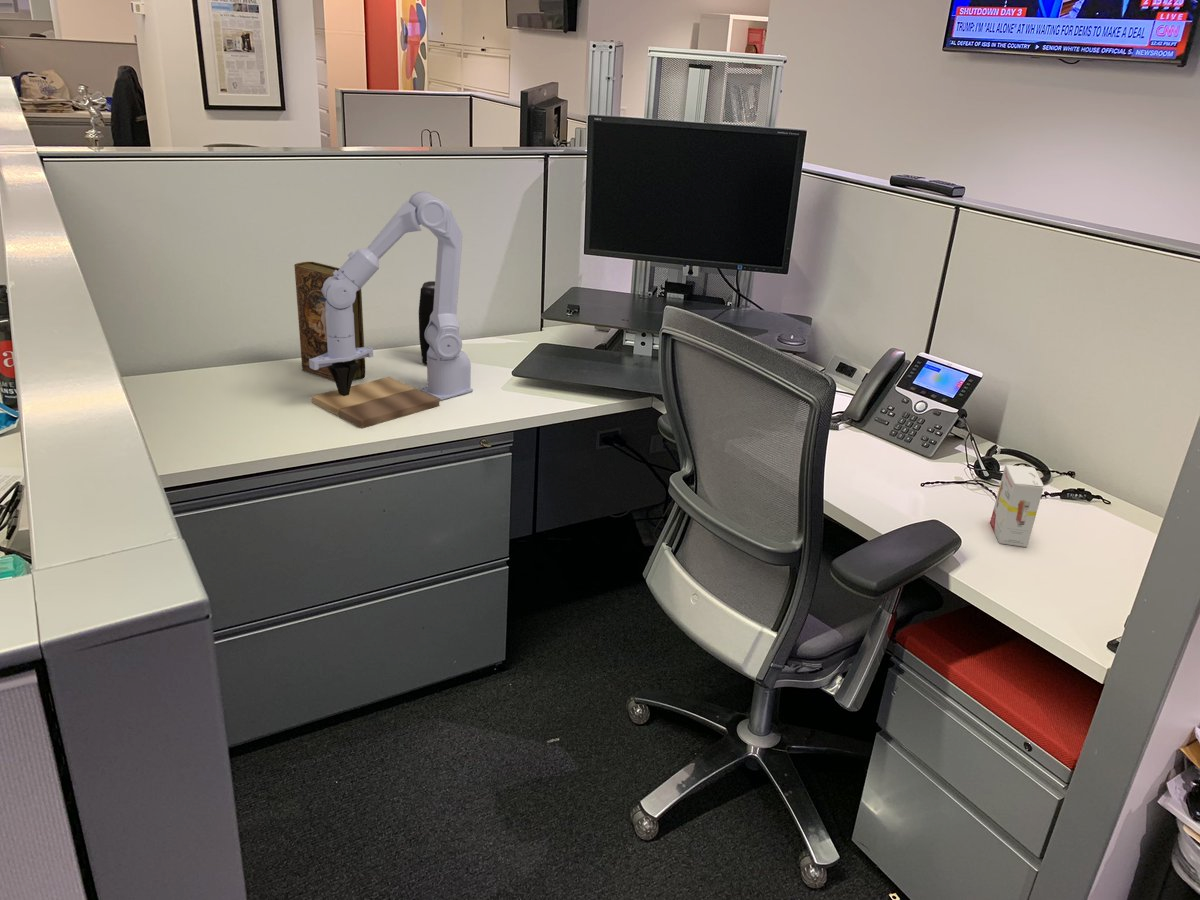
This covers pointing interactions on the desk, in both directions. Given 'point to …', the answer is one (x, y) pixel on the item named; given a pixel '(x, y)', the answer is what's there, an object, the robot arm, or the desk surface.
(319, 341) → the book
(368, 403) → the walnut strip
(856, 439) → the desk surface
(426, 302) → the portable speaker
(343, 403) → the oak plank
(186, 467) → the desk surface
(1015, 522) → the ink box
